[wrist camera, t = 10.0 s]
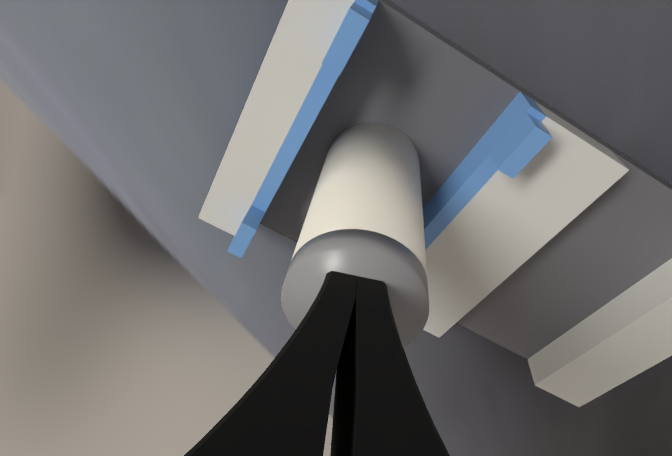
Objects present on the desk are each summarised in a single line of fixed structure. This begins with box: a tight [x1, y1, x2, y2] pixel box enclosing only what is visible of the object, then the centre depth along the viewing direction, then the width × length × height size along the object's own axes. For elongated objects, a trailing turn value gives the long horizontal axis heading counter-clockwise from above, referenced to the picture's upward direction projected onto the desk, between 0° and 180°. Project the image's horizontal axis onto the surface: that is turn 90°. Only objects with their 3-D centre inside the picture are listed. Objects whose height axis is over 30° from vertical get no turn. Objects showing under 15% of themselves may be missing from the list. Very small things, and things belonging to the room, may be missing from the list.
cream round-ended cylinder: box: [281, 122, 429, 347], centre depth 13 cm, size 4×4×8 cm
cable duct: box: [198, 0, 672, 407], centre depth 16 cm, size 20×10×4 cm, turn 62°
